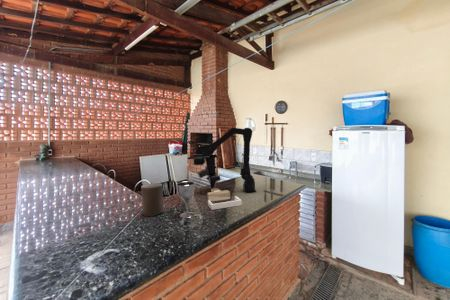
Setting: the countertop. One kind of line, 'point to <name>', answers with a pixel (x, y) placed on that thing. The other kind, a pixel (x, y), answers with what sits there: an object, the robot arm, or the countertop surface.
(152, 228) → the countertop surface
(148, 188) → the pillar candle
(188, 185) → the wine glass
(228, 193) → the t block
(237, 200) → the bracket
